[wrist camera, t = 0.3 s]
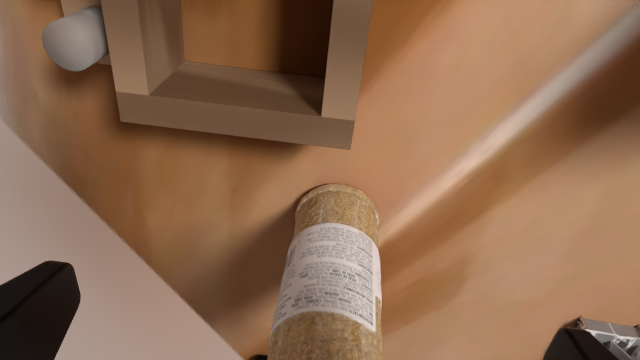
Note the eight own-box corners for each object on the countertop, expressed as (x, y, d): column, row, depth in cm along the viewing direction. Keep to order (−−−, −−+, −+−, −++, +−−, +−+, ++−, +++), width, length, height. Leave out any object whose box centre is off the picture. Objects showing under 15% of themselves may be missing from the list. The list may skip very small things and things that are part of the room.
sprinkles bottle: (354, 257, 26) (347, 545, 14) (281, 227, 25) (213, 506, 14) (395, 200, 23) (425, 491, 12) (316, 165, 23) (268, 440, 11)
